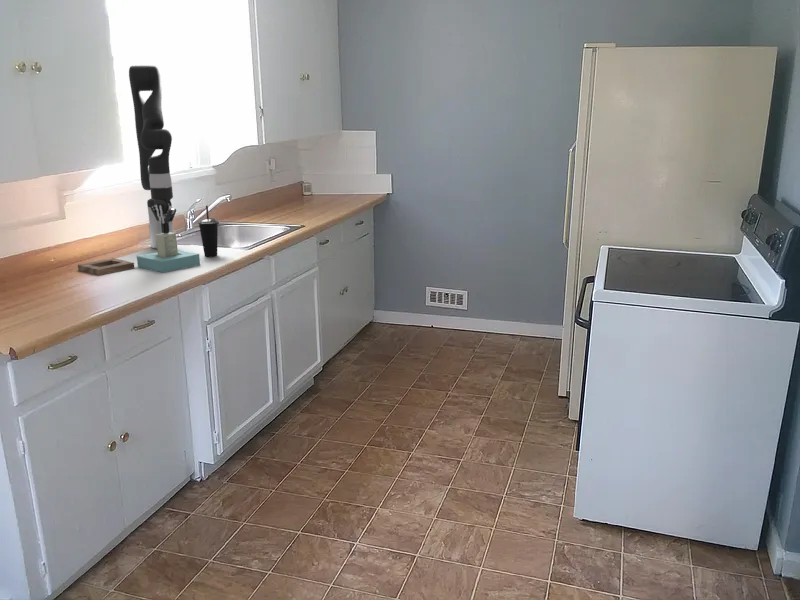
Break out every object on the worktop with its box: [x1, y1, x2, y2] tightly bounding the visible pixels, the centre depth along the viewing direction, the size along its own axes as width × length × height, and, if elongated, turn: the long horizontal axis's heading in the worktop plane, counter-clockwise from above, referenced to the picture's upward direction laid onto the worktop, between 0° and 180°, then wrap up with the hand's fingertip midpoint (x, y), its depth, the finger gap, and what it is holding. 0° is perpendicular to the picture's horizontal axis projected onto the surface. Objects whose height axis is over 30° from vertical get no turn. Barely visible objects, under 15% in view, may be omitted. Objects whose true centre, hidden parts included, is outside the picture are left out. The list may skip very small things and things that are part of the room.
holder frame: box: [77, 257, 135, 276], centre depth 256 cm, size 14×14×2 cm
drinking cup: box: [197, 205, 219, 258], centre depth 274 cm, size 8×8×20 cm
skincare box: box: [156, 231, 179, 258], centre depth 260 cm, size 6×4×12 cm
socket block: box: [136, 249, 201, 273], centre depth 261 cm, size 16×16×4 cm
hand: (165, 233), depth 258 cm, fingers closed
